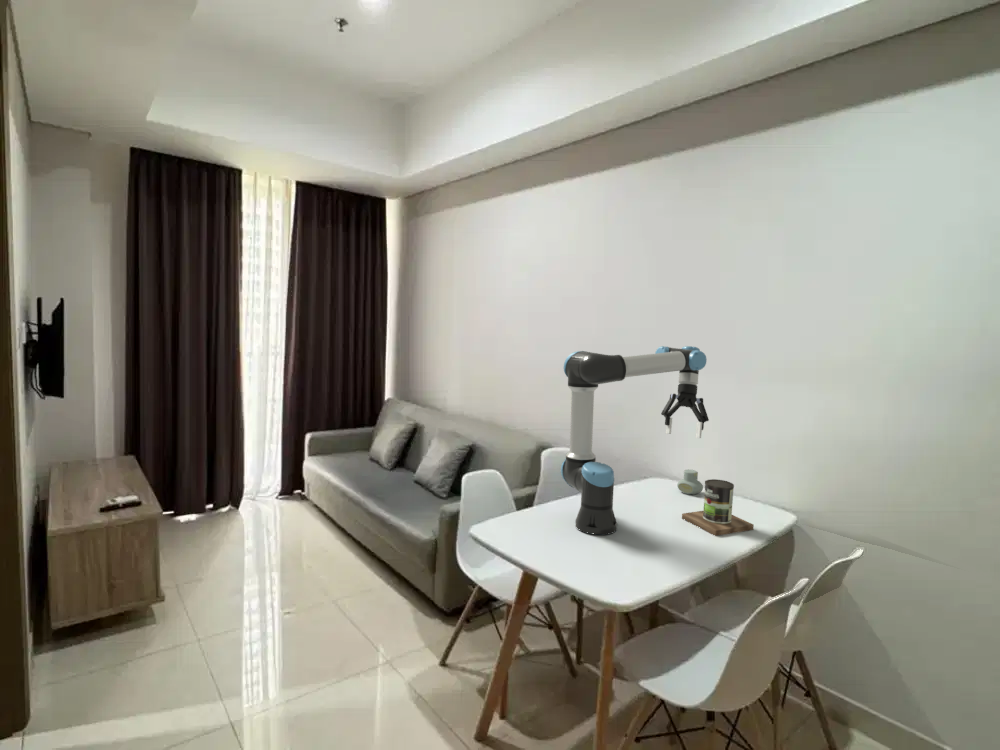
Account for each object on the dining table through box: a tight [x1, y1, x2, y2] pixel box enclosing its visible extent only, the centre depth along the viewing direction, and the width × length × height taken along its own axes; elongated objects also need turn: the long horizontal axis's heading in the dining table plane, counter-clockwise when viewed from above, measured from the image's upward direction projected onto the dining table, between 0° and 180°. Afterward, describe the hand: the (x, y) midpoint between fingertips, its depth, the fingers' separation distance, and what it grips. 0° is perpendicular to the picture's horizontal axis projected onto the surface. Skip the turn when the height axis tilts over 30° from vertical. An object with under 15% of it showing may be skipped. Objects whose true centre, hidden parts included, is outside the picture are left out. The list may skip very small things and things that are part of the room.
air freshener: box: [677, 469, 704, 495], centre depth 245 cm, size 11×8×10 cm
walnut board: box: [681, 510, 754, 537], centre depth 209 cm, size 18×18×2 cm
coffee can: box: [702, 478, 735, 524], centre depth 208 cm, size 10×10×14 cm
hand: (683, 436), depth 222 cm, fingers open, 13 cm apart
